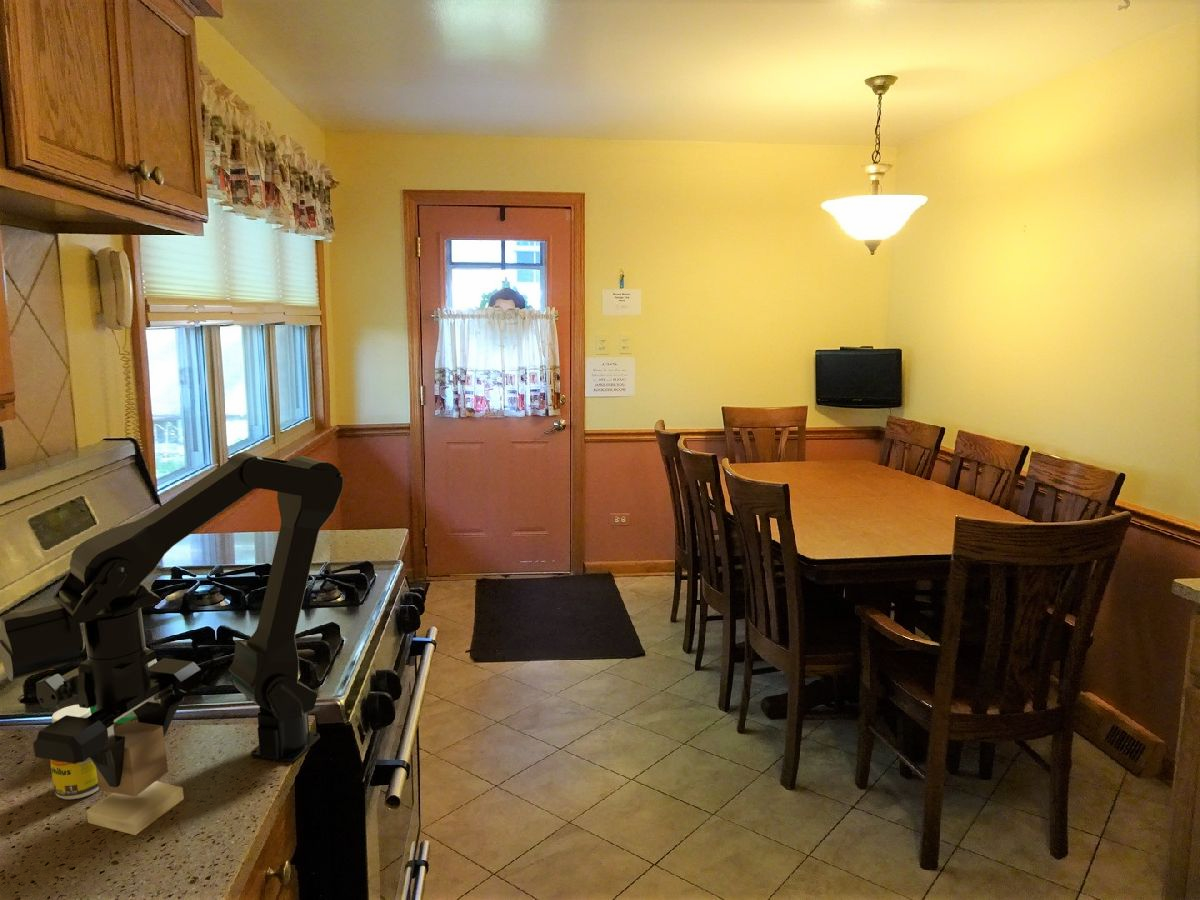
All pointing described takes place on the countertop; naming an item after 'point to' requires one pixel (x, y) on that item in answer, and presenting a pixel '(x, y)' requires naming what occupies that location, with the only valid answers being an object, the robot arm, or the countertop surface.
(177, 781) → the countertop surface
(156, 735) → the walnut cube
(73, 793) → the supplement bottle
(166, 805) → the birch block
